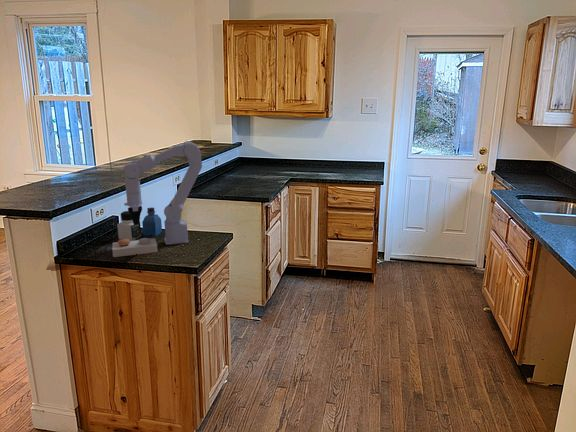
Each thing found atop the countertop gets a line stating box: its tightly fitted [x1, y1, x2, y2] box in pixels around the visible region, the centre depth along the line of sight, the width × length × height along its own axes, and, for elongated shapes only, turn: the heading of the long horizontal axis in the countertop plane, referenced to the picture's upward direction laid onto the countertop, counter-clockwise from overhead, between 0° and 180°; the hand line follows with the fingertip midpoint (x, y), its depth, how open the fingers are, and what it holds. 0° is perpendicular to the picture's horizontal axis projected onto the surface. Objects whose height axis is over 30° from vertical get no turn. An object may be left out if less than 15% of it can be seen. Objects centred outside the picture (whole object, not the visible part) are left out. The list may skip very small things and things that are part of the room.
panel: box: [111, 237, 158, 258], centre depth 188 cm, size 17×10×3 cm, turn 110°
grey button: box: [138, 237, 151, 244], centre depth 189 cm, size 4×4×4 cm
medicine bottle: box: [116, 210, 142, 241], centre depth 204 cm, size 7×7×12 cm
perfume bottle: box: [141, 207, 163, 237], centre depth 210 cm, size 6×6×12 cm
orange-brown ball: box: [117, 239, 131, 247], centre depth 186 cm, size 4×4×4 cm
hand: (136, 224), depth 193 cm, fingers closed
